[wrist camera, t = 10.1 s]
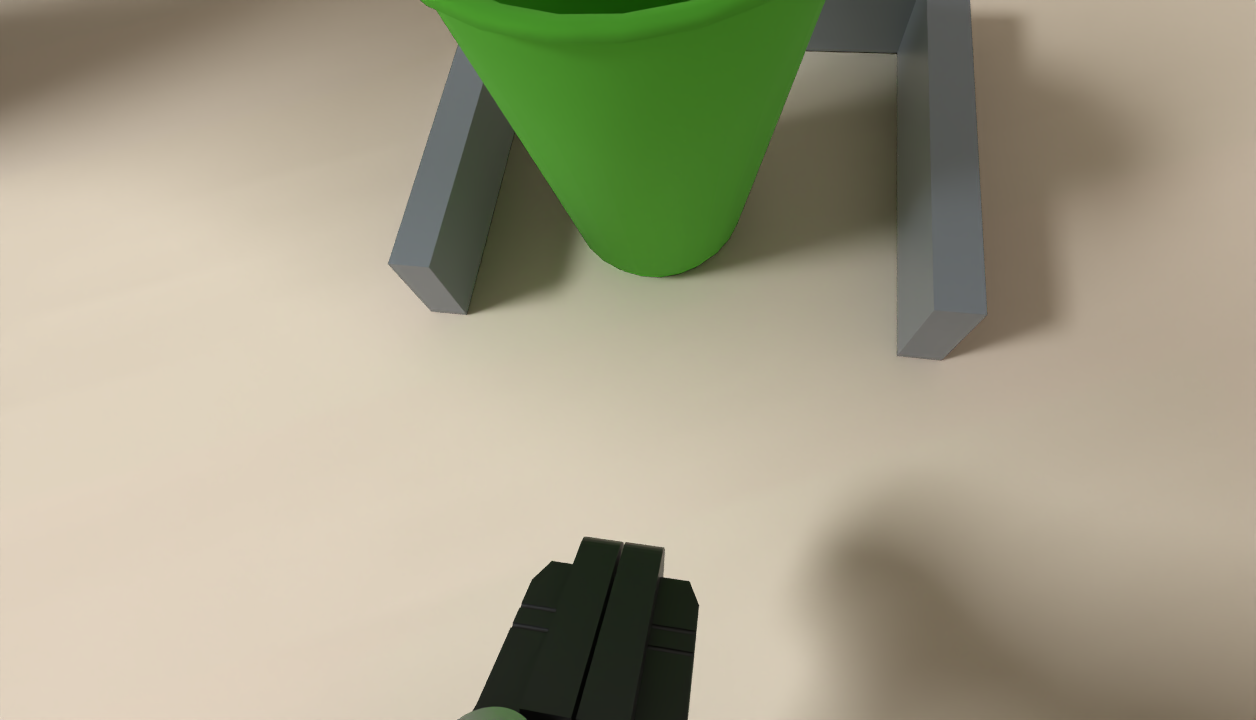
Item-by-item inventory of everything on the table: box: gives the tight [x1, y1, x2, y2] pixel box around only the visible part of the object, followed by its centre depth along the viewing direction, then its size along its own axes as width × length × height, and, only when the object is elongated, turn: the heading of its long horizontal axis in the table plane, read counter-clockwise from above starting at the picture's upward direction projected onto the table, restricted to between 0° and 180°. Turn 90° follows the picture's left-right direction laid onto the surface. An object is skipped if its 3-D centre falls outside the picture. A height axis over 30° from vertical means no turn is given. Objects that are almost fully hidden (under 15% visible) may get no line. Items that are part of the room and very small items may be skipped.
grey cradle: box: [388, 0, 987, 360], centre depth 20 cm, size 15×13×3 cm
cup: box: [420, 0, 825, 277], centre depth 15 cm, size 9×9×11 cm
